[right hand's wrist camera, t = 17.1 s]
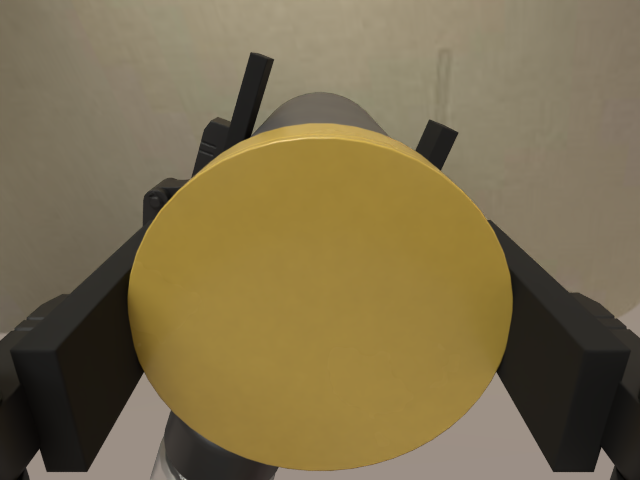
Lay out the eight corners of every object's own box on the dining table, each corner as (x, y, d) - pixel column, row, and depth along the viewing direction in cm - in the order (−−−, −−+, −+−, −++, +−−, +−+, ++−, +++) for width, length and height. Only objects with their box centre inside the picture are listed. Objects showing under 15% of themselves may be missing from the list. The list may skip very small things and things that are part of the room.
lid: (234, 440, 14) (220, 503, 12) (99, 189, 11) (51, 217, 9) (507, 368, 13) (540, 423, 11) (440, 70, 10) (470, 71, 8)
